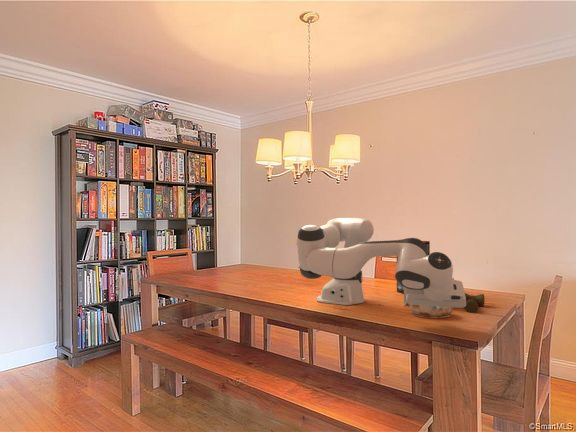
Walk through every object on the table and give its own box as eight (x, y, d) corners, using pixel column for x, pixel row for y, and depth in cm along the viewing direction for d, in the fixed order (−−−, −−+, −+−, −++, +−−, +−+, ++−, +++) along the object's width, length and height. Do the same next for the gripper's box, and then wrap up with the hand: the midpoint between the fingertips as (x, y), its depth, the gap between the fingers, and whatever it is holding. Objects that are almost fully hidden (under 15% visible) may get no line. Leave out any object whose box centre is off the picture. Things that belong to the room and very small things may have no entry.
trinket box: (458, 317, 145) (458, 297, 145) (428, 321, 140) (427, 300, 140) (433, 309, 158) (433, 290, 158) (404, 313, 152) (404, 293, 152)
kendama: (457, 312, 154) (460, 301, 171) (484, 316, 149) (484, 303, 167) (458, 298, 153) (461, 288, 171) (484, 301, 149) (484, 290, 166)
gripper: (405, 294, 130) (405, 314, 140) (469, 297, 124) (464, 318, 134) (405, 279, 135) (405, 300, 144) (466, 281, 129) (462, 303, 138)
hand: (434, 309), depth 139 cm, fingers closed
